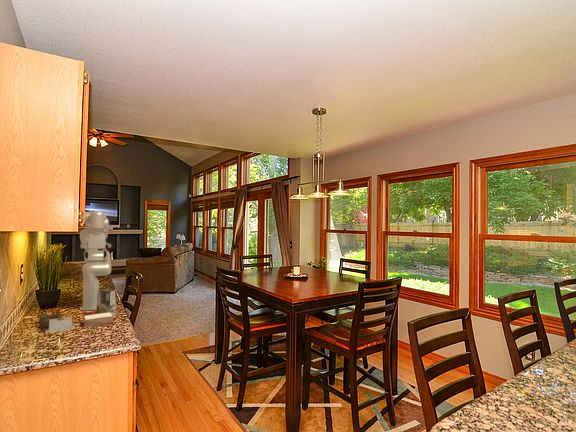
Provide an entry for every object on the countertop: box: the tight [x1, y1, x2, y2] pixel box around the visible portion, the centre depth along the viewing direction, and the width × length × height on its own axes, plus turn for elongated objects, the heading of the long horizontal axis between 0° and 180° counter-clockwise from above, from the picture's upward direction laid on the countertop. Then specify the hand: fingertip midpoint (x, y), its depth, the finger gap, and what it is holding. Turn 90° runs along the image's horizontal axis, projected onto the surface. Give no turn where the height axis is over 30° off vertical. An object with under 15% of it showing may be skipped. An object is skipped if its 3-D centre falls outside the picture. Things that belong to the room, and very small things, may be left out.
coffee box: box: [96, 289, 117, 317], centre depth 203 cm, size 9×6×16 cm
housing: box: [44, 316, 76, 334], centre depth 176 cm, size 6×13×6 cm, turn 127°
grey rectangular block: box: [39, 312, 62, 330], centre depth 186 cm, size 6×10×20 cm
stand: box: [82, 312, 114, 328], centre depth 188 cm, size 9×14×4 cm, turn 127°
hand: (95, 258), depth 203 cm, fingers open, 9 cm apart
